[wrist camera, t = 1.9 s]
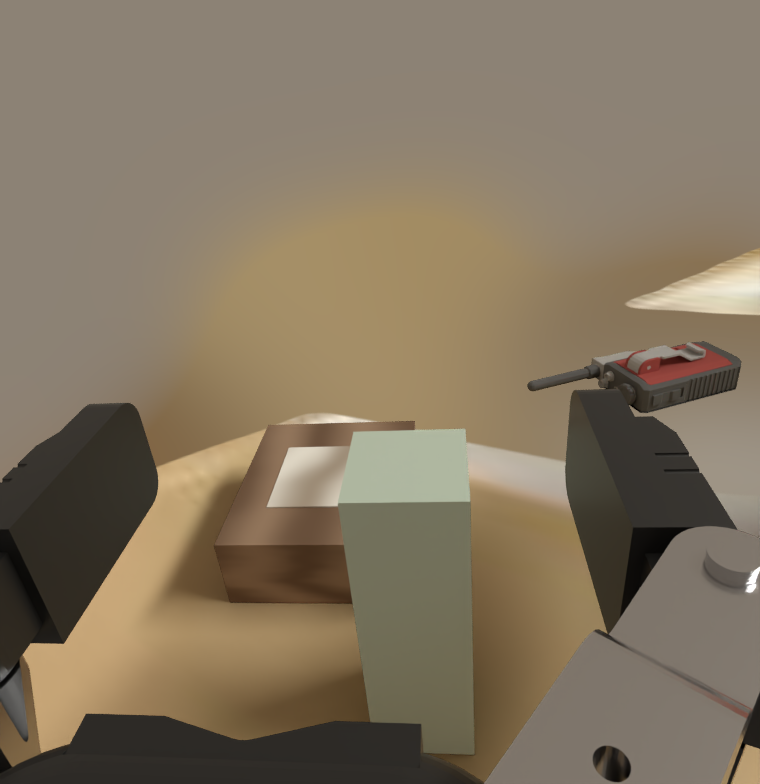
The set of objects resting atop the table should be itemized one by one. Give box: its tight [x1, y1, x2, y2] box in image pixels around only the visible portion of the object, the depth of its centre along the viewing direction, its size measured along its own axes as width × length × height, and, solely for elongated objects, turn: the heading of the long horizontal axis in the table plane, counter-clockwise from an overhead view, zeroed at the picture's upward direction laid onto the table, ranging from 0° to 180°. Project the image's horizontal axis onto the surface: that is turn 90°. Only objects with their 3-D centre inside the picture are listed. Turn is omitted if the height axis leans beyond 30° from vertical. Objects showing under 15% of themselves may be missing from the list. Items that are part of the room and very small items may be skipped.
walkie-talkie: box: [528, 341, 741, 413], centre depth 60 cm, size 9×4×20 cm
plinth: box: [214, 421, 415, 603], centre depth 44 cm, size 12×14×5 cm
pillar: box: [338, 429, 475, 755], centre depth 29 cm, size 5×5×16 cm
